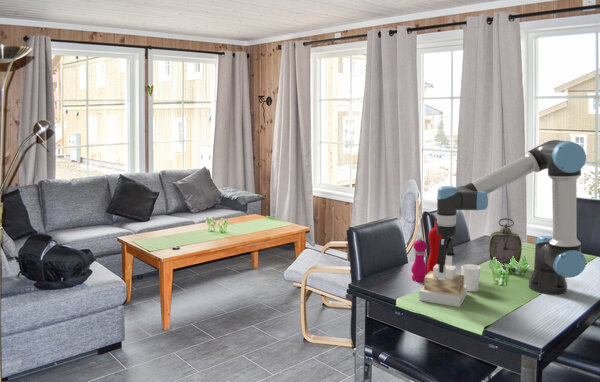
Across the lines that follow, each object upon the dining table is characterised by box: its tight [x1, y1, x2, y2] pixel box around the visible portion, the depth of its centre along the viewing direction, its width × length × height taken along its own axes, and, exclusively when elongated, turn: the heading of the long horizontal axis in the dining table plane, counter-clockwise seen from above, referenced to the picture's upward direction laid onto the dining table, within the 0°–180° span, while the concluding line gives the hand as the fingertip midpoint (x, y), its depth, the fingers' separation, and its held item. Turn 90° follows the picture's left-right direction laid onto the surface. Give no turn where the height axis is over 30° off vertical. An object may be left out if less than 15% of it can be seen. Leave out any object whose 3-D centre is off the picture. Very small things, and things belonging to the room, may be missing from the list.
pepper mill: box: [410, 236, 428, 283], centre depth 240 cm, size 7×7×20 cm
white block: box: [433, 264, 457, 280], centre depth 216 cm, size 8×6×4 cm
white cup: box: [460, 263, 481, 292], centre depth 227 cm, size 8×8×10 cm
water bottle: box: [426, 220, 442, 273], centre depth 250 cm, size 9×11×25 cm
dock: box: [418, 285, 468, 308], centre depth 217 cm, size 16×16×4 cm
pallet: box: [423, 271, 464, 294], centre depth 217 cm, size 14×10×5 cm
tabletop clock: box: [488, 217, 522, 266], centre depth 257 cm, size 14×9×25 cm, turn 73°
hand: (445, 275), depth 216 cm, fingers open, 13 cm apart
